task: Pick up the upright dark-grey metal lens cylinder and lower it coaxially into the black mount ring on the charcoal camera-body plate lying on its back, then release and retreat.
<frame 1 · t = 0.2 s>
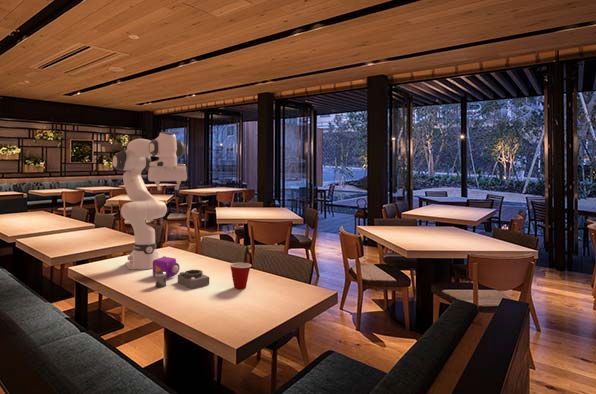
hand: (168, 189, 194), 47 cm above the table, fingers open, 8 cm apart
plastic cup: (240, 288, 185), on the table
purple box with triangle: (167, 276, 202), on the table
lens: (160, 286, 185), on the table
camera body: (193, 283, 190), on the table
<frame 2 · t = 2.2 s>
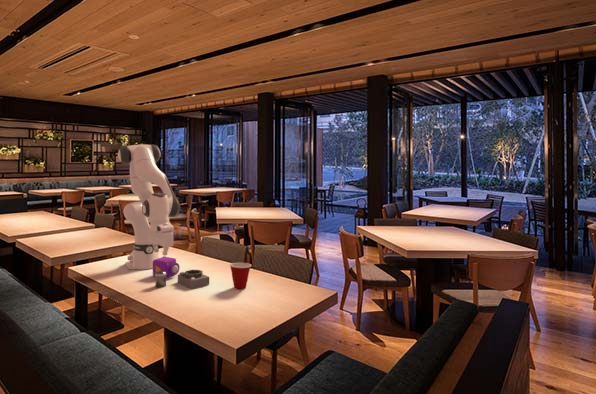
hand: (160, 253, 183), 16 cm above the table, fingers open, 8 cm apart
nothing on the table moved.
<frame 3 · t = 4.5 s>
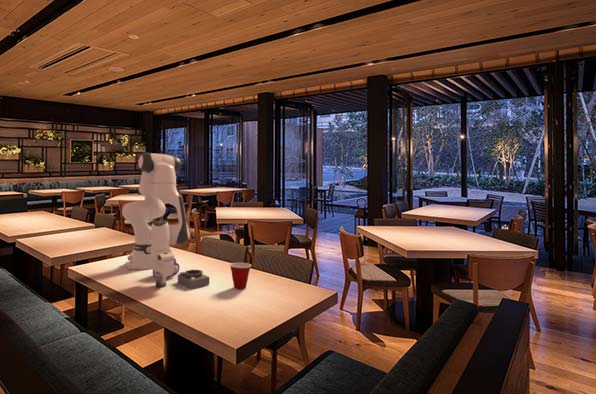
hand: (160, 280, 185), 3 cm above the table, fingers closed on lens, 5 cm apart
lens: (160, 286, 185), on the table, touching gripper
everything else where it was.
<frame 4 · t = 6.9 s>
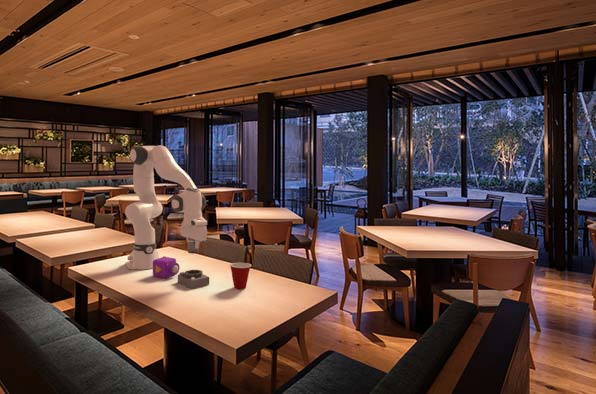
hand: (193, 247, 188), 19 cm above the table, fingers closed on lens, 5 cm apart
lens: (193, 252, 189), point 16 cm above the table, touching gripper
everything else where it was.
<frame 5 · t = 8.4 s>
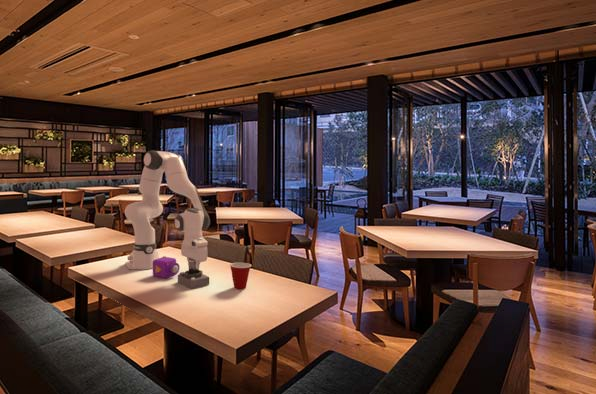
hand: (193, 267, 189), 9 cm above the table, fingers closed on lens, 5 cm apart
lens: (193, 272, 190), point 6 cm above the table, touching gripper
everything else where it was.
when the fingers open (8 cm above the table, at t = 9.4 s): lens stays where it is, resting on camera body.
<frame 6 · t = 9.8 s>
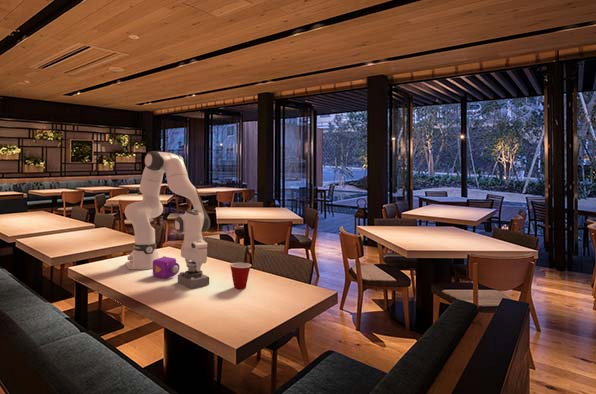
hand: (193, 268, 189), 8 cm above the table, fingers open, 8 cm apart
lens: (193, 275, 190), point 4 cm above the table, touching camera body
everything else where it was.
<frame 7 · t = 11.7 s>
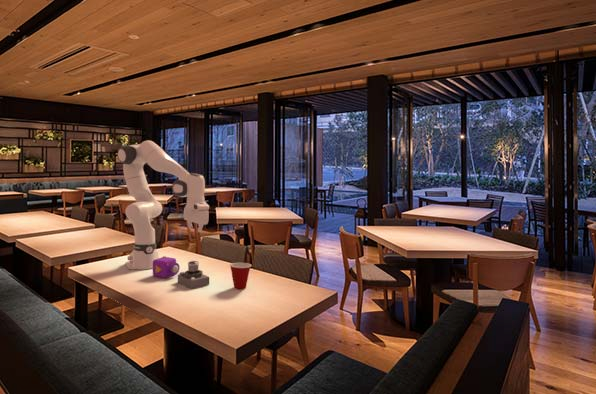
hand: (195, 230, 195), 26 cm above the table, fingers open, 8 cm apart
nothing on the table moved.
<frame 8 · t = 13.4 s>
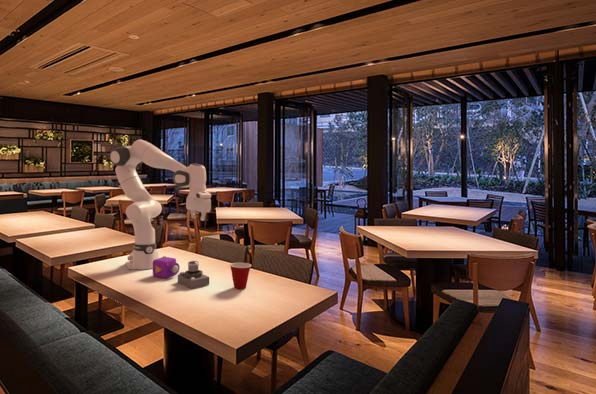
hand: (197, 219, 201), 31 cm above the table, fingers open, 8 cm apart
nothing on the table moved.
at the end: lens 0.1 cm off-centre on the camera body, point 4.0 cm above the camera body's base; lens tilted 1°; the gripper is holding nothing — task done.
